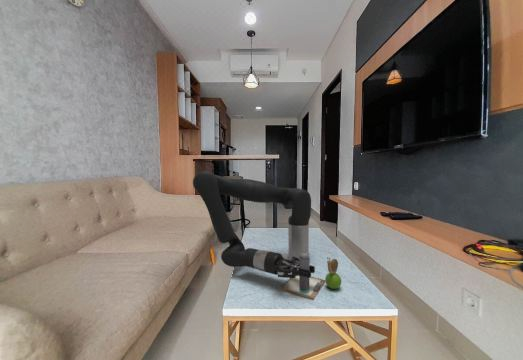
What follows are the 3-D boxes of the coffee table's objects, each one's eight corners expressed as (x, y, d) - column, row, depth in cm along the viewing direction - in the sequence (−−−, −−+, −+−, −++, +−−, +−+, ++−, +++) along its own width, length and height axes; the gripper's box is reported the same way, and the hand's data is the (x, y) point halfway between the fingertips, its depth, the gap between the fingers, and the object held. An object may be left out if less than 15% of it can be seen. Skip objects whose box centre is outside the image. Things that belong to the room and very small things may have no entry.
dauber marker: (301, 287, 80) (301, 251, 79) (310, 289, 78) (310, 252, 78) (297, 291, 77) (297, 254, 76) (307, 294, 75) (307, 256, 75)
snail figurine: (320, 289, 80) (321, 255, 79) (330, 282, 84) (330, 250, 84) (335, 295, 76) (335, 260, 75) (343, 287, 80) (344, 254, 80)
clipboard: (295, 273, 91) (295, 270, 91) (325, 281, 85) (325, 278, 85) (279, 290, 79) (279, 286, 79) (313, 300, 73) (313, 296, 73)
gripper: (257, 258, 79) (305, 269, 70) (276, 246, 91) (319, 254, 82) (258, 279, 79) (305, 293, 70) (276, 264, 91) (319, 274, 82)
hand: (312, 272), depth 76 cm, fingers closed on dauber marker, 3 cm apart
